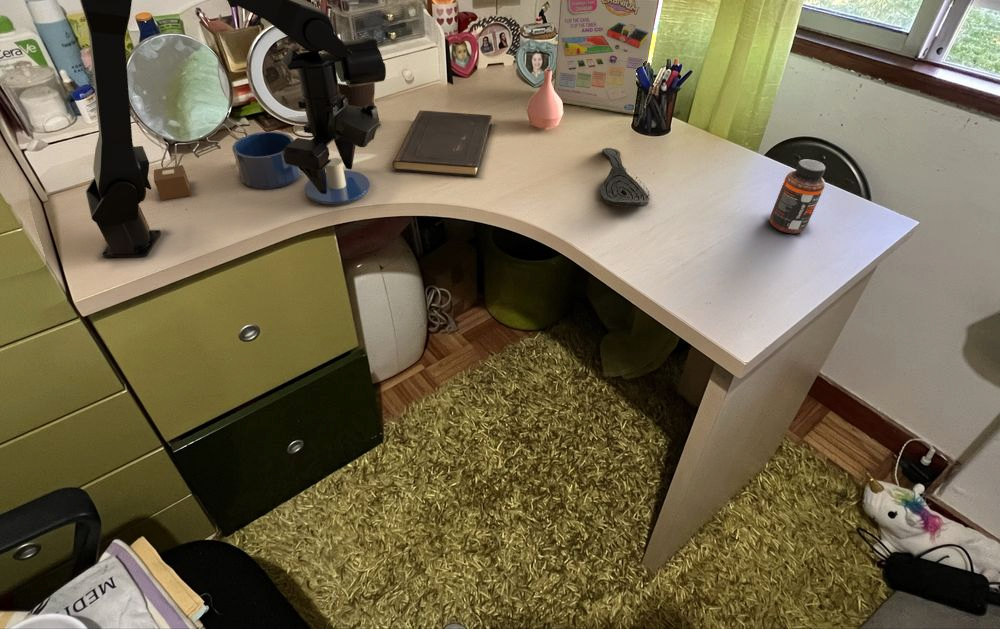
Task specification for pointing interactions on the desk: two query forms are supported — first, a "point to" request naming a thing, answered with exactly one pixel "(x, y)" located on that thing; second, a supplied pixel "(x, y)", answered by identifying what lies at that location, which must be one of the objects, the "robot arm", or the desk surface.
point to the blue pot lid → (339, 185)
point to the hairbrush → (621, 184)
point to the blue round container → (264, 160)
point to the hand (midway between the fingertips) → (336, 180)
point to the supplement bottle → (798, 197)
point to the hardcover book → (444, 144)
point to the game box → (604, 51)
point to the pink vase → (545, 105)
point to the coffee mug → (358, 94)
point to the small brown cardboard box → (172, 182)
